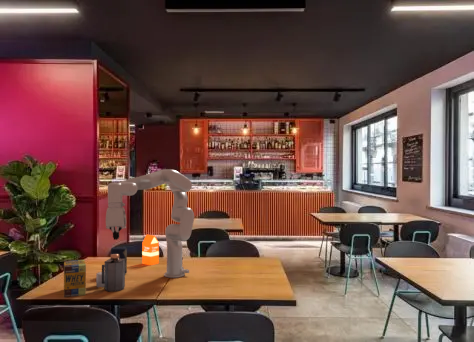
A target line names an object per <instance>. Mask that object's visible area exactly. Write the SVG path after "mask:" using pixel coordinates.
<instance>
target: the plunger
mask: <svg viewBox="0 0 474 342" xmlns="http://www.w3.org/2000/svg"><path fill="white" fill-rule="evenodd" d="M110 259H111V260H114V262H115V261H116V260H118V259H119V254H111V253H110Z"/></svg>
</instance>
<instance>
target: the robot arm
mask: <svg viewBox="0 0 474 342" xmlns="http://www.w3.org/2000/svg"><path fill="white" fill-rule="evenodd" d="M166 184H168V187H169V189H170V191H171V192H172V195H173V205H172V209H171V214H170V217H171V220H172V221H173V222H176V223H171V224H169V225H167V226H166V227H165V230H164V235H165V240H166V241H165V242H166V272H164V273H163V276H164V277H165V278H172V279H175V278H181V277H184V276H185V274H189V273H190V269H187V268H184V266H183V243H182V242H186V241H188V240H189V239H190V237H191V235H192V231H193V227H194V220H195V213H194V211H193V209H192V208H190V207H188V203H189V202H188V201H189V198H188V193H187V192H189V191H191V189H192V186H193V184H192V181H191V179H190V178H189V177H187V176H186V175H184V174H182V173H180V172H179V171H177V170H175V169H171V168H169V169H168V168H167V169H166V168H165V169H161V170H160V169H159V170H157V171H154V172H151V173H148V174H144V175H143V174H142V175H140V176H136V177H132V178H128V179H125V180H122V181H120V182H112V183H108V184H107V206H108V207H107V208H106V213H105V229H107V230H109V231H111V232H112V238H113V241H115V240H119V239H120V231H121V230H124V229H126V228H127V226H126V225H127V216H126V215H127V214H126V210H125V206H126V203H124V202H123V196H128V197H129V196H134V195H135V194H137V192H138V191H141V190H142V191H144V190H150V189H154V188H156V187H159V186H162V185H166Z"/></svg>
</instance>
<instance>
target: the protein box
mask: <svg viewBox="0 0 474 342" xmlns="http://www.w3.org/2000/svg"><path fill="white" fill-rule="evenodd" d="M63 262H64V263H63V298H70V297H71V298H72V297H77V296H78V297H79V296H86V295H87V293H86V291H87V290H86V289H87V288H86V286H87V284H86V283H87V277H86V276H87V273H86V272H87V265H86V260H85V259H76V260H65V261H63Z"/></svg>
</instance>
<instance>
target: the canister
mask: <svg viewBox="0 0 474 342" xmlns="http://www.w3.org/2000/svg"><path fill="white" fill-rule="evenodd" d="M127 251H128V248H127V247H126V246H124V245H123V246H122V245H116V246H114V247H111V249H110V255H111V254H119V259H125V275H126V274H127V272H128V268H127V267H128V262H127V261H128V254H127V253H128V252H127Z"/></svg>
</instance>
